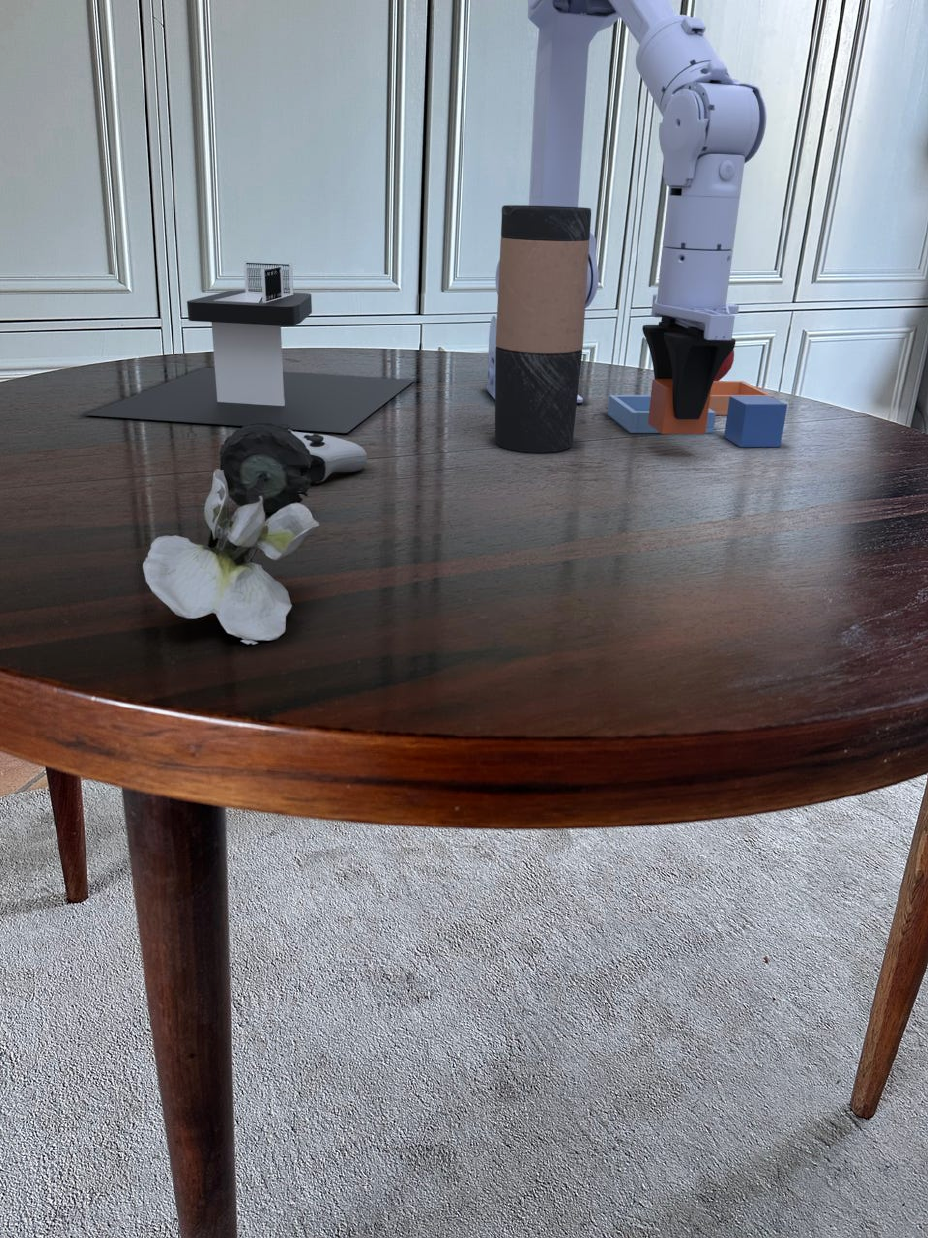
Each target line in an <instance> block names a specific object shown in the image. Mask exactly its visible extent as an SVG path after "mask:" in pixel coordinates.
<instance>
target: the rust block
mask: <svg viewBox="0 0 928 1238" xmlns="http://www.w3.org/2000/svg"><path fill="white" fill-rule="evenodd" d="M650 395H651V399H650V409H649V418H648V424H649V425H651V426H652V427H653V428H655V429H656V430H657V431H659V432H660V433H659V434H662V435H704V434H707V433H706V426H707V418H708V410H709V403H710V395H711V389H710V392H709V395H708V398H707V400H706V403H705V406H704V409H703V411H702V414H701V416H700V418H699V419H676V418H675V417H674V411H673V379H655V378H653V379H652V381H651V390H650Z"/></svg>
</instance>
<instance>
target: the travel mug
mask: <svg viewBox="0 0 928 1238" xmlns="http://www.w3.org/2000/svg"><path fill="white" fill-rule="evenodd" d="M591 222H592V208H590V207H584V206H583V207H581V206H578V207H562V206H529V204H528V205H527V204H526V205H525V204H524V205H523V204H522V205H520V204H517V205H516V204H513V205H512V204H506V205H505V204H504V205H502V207H501V224H500V225H501V226H500V241H499V242H500V244H499V245H500V246H499V259H500V263H499V284H498V295H497V307H496V315H497V325H496V350H495V399H494V442H495V444H496V445H497V446H499V447H500V448H502V449H506V450H510V451H514V452H520V453H531V454H545V453H546V454H547V453H549V454H550V453H557V452H563V451H566V450H570V448H572V446H573V443H574V436H575V435H574V434H575V426H576V425H575V424H576V416H577V406H578V403H577V398H578V395H579V387H580V377H581V367H582V360H583V359H582V358H583V346H584V332H585V320H586V319H585V318H586V316H585V315H586V308H585V303H586V287H587V272H588V256H589V239H590V232H591V224H592V223H591Z"/></svg>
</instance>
